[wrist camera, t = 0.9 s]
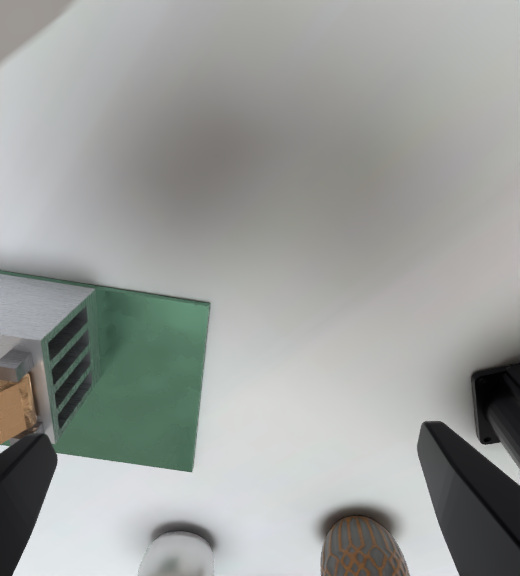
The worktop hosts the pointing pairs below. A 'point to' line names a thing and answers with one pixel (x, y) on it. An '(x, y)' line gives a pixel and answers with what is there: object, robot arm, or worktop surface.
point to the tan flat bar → (16, 408)
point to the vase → (361, 550)
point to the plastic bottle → (178, 556)
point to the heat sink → (106, 368)
